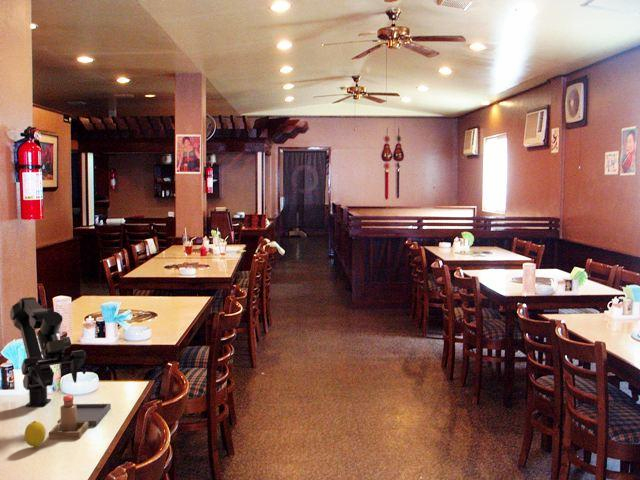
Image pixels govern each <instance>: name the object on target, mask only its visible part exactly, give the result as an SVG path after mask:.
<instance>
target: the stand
mask: <svg viewBox="0 0 640 480" xmlns="http://www.w3.org/2000/svg"><path fill="white" fill-rule="evenodd" d="M89 428H90V426H89V421H83V422H77V431H75V432H61V422H59V423H58V422H57V423H56V425H55V426H54V427H52V428H51V430H50V431H49V432H48V440H80V439H81V437H83V435H84V434H85V433H86V432H87V431H88V429H89Z"/></svg>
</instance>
